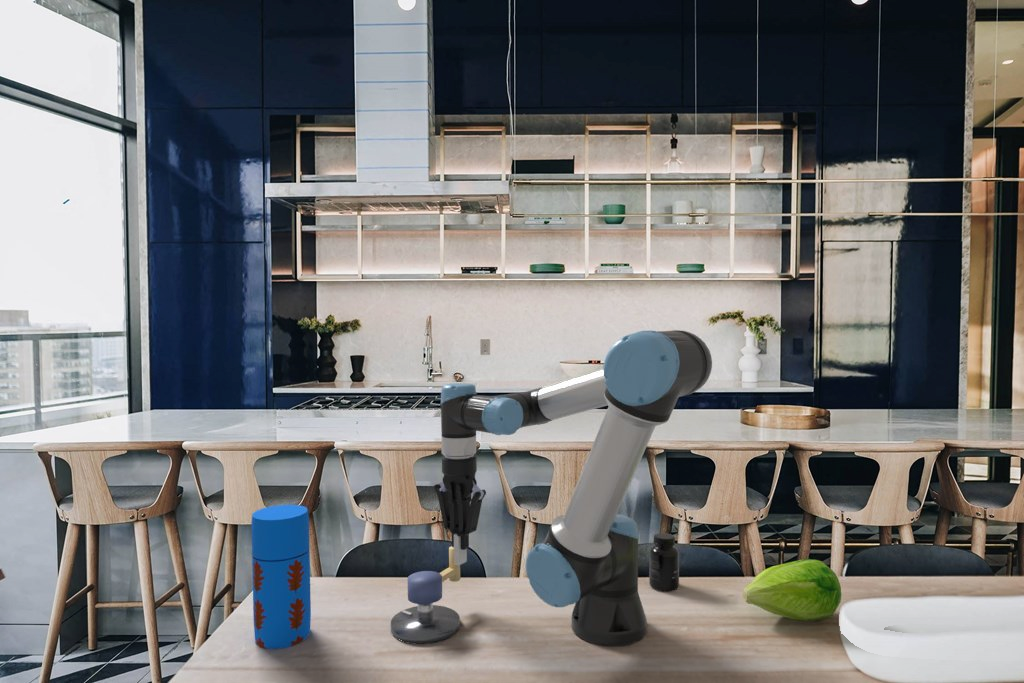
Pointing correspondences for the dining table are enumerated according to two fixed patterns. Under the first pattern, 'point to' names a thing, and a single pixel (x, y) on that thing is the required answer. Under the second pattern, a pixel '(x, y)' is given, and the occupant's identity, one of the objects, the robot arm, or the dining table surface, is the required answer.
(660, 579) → the supplement bottle
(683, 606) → the dining table surface
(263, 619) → the thermos
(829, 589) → the lettuce
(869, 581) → the dining table surface
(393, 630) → the post base
